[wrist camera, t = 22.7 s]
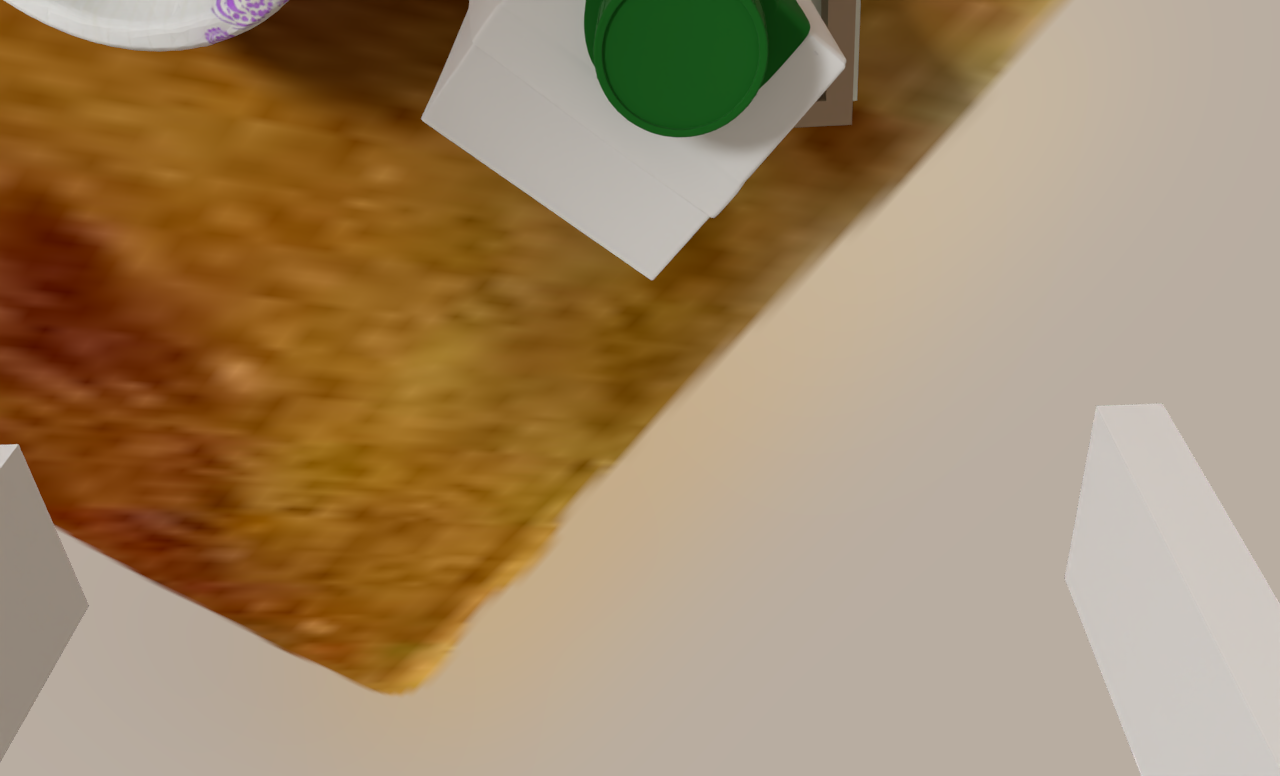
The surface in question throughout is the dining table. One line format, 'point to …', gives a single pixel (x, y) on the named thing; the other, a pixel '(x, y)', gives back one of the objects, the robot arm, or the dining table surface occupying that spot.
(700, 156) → the soya milk
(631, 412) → the dining table surface
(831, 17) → the seat board
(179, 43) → the paper bowls
